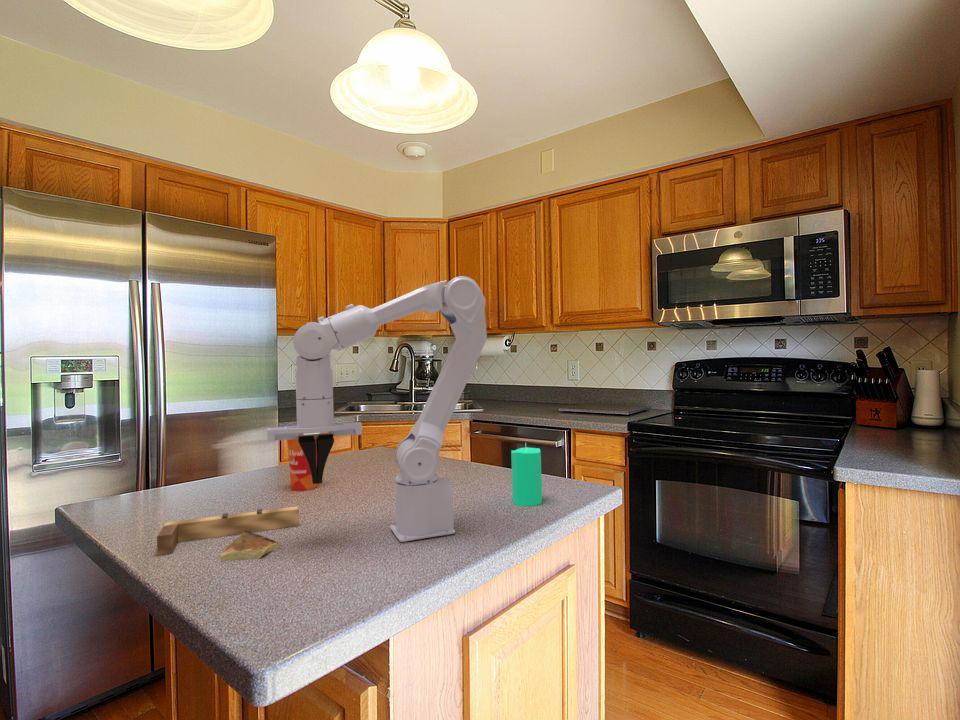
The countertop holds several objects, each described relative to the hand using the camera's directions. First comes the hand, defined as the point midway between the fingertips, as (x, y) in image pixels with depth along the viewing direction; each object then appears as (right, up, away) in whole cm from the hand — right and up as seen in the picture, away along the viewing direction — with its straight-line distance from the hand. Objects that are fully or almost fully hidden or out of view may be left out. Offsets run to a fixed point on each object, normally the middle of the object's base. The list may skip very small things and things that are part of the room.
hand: (317, 482), depth 84 cm
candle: (+36, -9, +21) cm, 43 cm away
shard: (-11, -11, -2) cm, 16 cm away
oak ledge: (-15, -10, +4) cm, 19 cm away
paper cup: (-15, -10, +37) cm, 41 cm away
